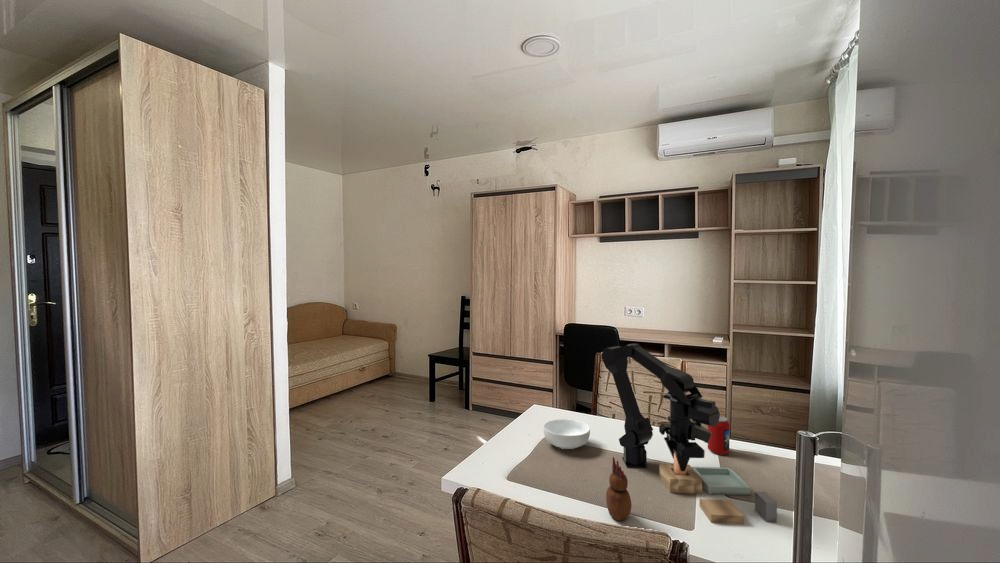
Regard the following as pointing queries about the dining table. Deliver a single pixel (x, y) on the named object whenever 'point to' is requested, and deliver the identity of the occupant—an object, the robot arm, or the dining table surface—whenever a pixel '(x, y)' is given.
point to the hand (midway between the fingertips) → (680, 467)
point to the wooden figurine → (618, 494)
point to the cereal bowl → (566, 433)
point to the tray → (722, 481)
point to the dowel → (678, 468)
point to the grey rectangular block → (766, 506)
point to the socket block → (680, 480)
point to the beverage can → (719, 437)
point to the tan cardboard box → (721, 511)
